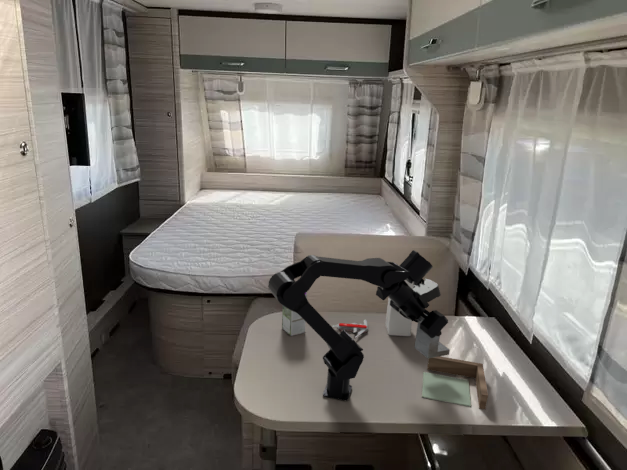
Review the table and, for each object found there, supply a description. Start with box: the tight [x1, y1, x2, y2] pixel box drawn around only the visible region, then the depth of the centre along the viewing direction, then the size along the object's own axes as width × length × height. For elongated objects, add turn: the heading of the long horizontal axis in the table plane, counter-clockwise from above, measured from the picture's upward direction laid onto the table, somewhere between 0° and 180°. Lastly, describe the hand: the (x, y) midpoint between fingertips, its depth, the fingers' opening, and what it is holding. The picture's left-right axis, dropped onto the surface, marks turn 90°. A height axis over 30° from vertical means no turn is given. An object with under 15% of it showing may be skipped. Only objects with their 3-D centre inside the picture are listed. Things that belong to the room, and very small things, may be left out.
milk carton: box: [384, 280, 414, 337], centre depth 155 cm, size 7×7×19 cm
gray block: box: [414, 313, 451, 359], centre depth 130 cm, size 7×6×10 cm
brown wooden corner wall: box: [426, 356, 489, 410], centre depth 128 cm, size 16×14×4 cm
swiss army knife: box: [331, 319, 368, 339], centre depth 156 cm, size 12×14×2 cm
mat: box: [421, 371, 472, 407], centre depth 127 cm, size 12×12×1 cm
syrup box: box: [281, 291, 308, 337], centre depth 152 cm, size 6×6×14 cm
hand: (432, 329), depth 130 cm, fingers closed on gray block, 6 cm apart
